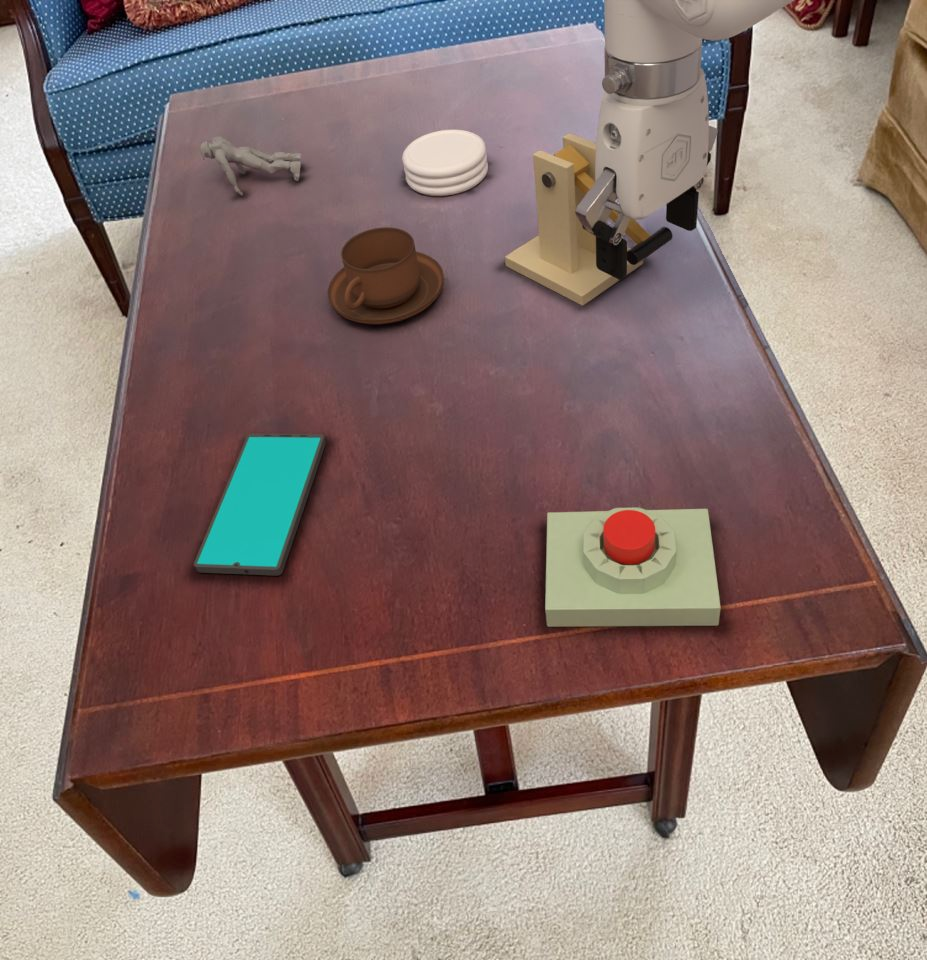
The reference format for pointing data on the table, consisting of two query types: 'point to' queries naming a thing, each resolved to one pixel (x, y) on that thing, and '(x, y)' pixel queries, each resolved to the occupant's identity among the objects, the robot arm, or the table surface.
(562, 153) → the lever
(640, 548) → the button
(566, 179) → the bracket
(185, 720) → the table surface
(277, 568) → the smartphone
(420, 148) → the coaster
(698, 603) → the button block
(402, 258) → the cup and saucer
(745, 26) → the robot arm
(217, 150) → the soldier figurine
